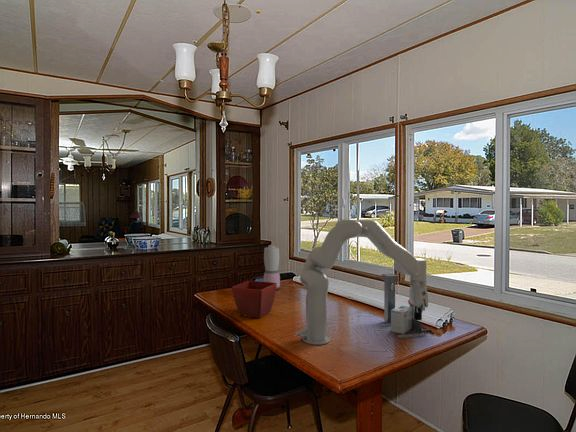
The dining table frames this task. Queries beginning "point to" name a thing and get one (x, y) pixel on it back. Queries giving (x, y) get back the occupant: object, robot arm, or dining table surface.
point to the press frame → (390, 304)
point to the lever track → (427, 330)
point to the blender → (271, 265)
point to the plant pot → (254, 297)
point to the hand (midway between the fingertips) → (417, 319)
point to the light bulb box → (401, 319)
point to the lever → (412, 308)
